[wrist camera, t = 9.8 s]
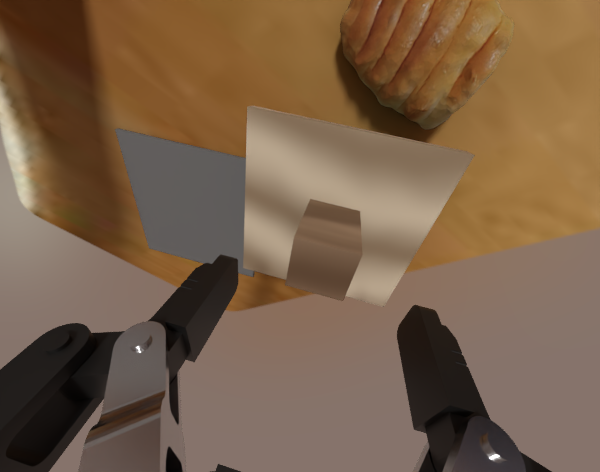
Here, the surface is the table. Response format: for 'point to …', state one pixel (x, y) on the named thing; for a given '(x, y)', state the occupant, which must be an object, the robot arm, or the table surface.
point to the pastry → (425, 52)
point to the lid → (340, 203)
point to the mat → (187, 197)
